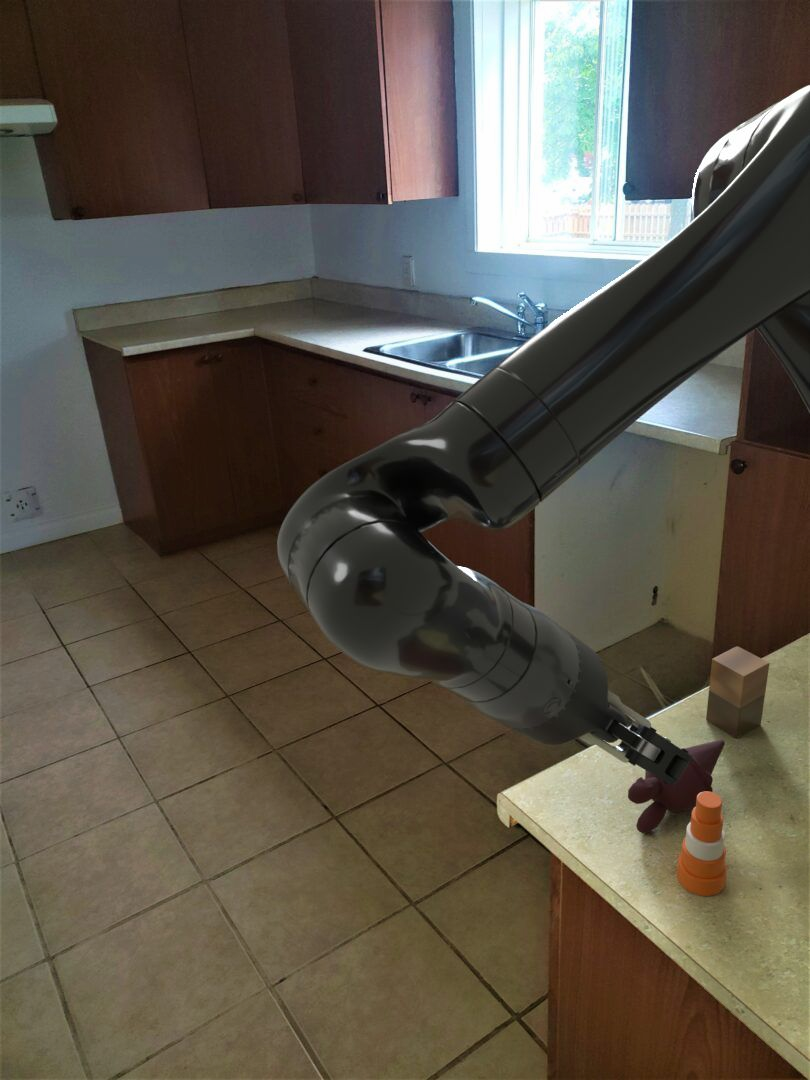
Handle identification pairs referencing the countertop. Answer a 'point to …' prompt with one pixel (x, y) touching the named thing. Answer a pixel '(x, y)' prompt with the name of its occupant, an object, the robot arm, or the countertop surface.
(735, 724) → the block bottom
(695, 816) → the cone
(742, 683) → the block top
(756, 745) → the countertop surface
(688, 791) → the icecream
